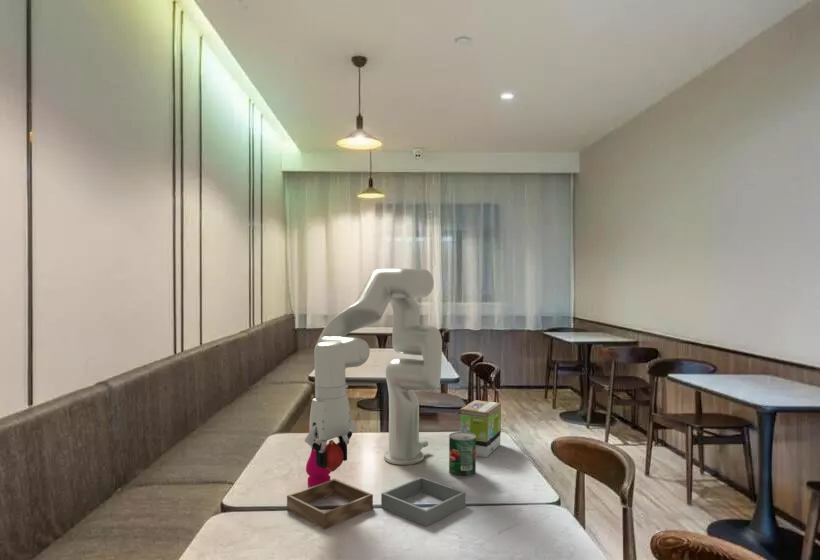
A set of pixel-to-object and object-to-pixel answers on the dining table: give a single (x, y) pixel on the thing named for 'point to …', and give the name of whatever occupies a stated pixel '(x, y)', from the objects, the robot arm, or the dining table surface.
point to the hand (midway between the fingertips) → (332, 462)
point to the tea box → (482, 425)
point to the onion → (333, 456)
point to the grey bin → (425, 517)
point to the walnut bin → (337, 515)
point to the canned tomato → (462, 454)
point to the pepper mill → (316, 470)
